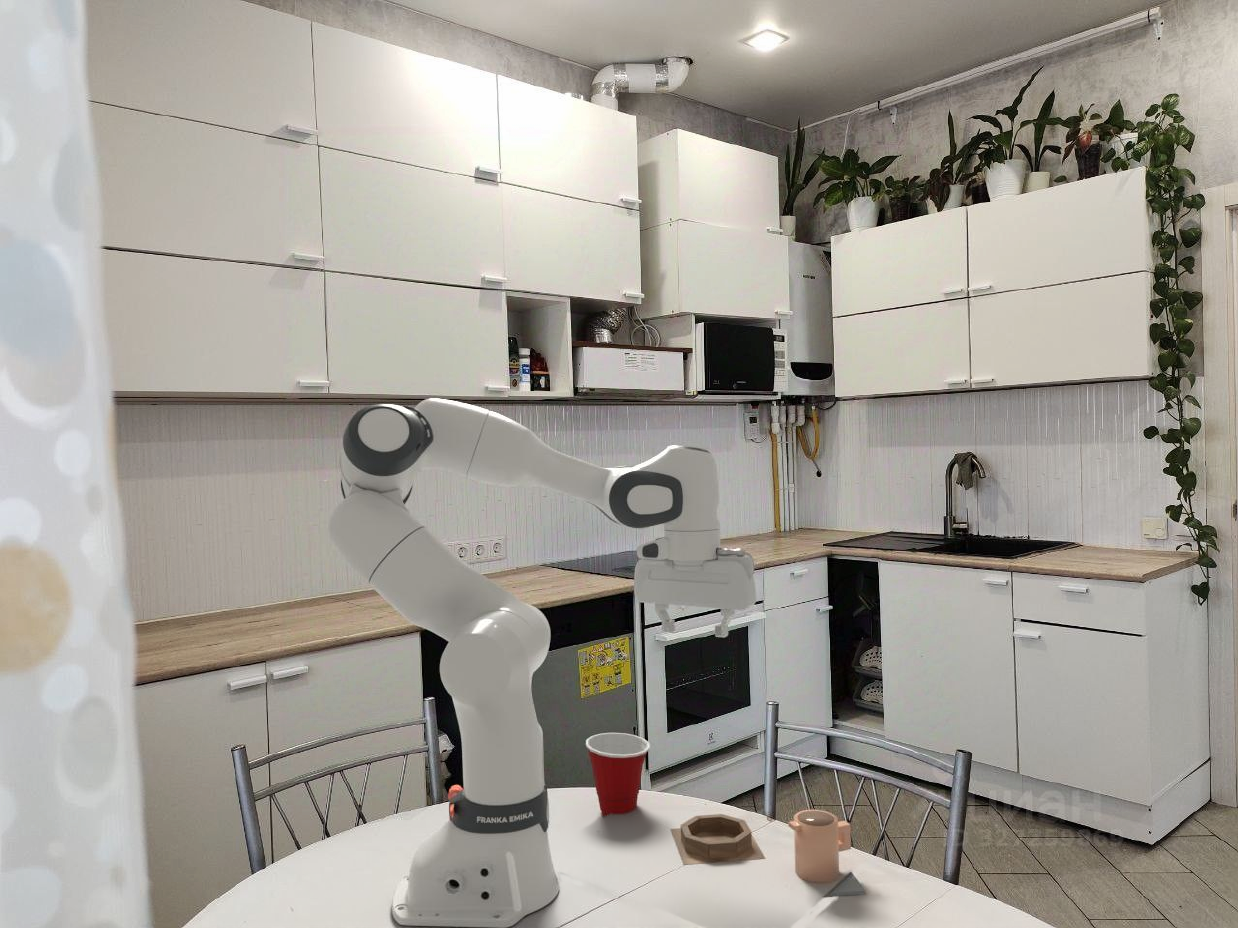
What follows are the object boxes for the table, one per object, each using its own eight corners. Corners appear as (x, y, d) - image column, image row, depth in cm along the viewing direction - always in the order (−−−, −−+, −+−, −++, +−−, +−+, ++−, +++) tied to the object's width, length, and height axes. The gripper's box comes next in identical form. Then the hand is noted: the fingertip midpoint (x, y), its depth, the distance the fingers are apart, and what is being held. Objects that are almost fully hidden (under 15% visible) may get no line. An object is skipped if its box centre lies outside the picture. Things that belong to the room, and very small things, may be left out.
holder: (683, 871, 125) (683, 849, 125) (670, 835, 137) (669, 814, 137) (765, 864, 127) (765, 843, 126) (745, 829, 138) (744, 809, 138)
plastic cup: (646, 828, 140) (644, 753, 140) (580, 824, 142) (578, 750, 142) (656, 801, 151) (654, 731, 151) (595, 797, 153) (593, 729, 153)
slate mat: (792, 899, 117) (792, 895, 117) (772, 864, 127) (772, 861, 127) (865, 893, 118) (865, 889, 118) (839, 859, 128) (839, 855, 128)
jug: (805, 890, 118) (803, 831, 118) (781, 871, 123) (780, 814, 123) (861, 877, 121) (860, 819, 121) (835, 858, 127) (834, 803, 127)
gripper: (761, 547, 136) (763, 635, 136) (647, 543, 147) (649, 625, 147) (745, 551, 131) (747, 643, 131) (627, 547, 142) (630, 632, 142)
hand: (694, 633), depth 139 cm, fingers open, 8 cm apart
